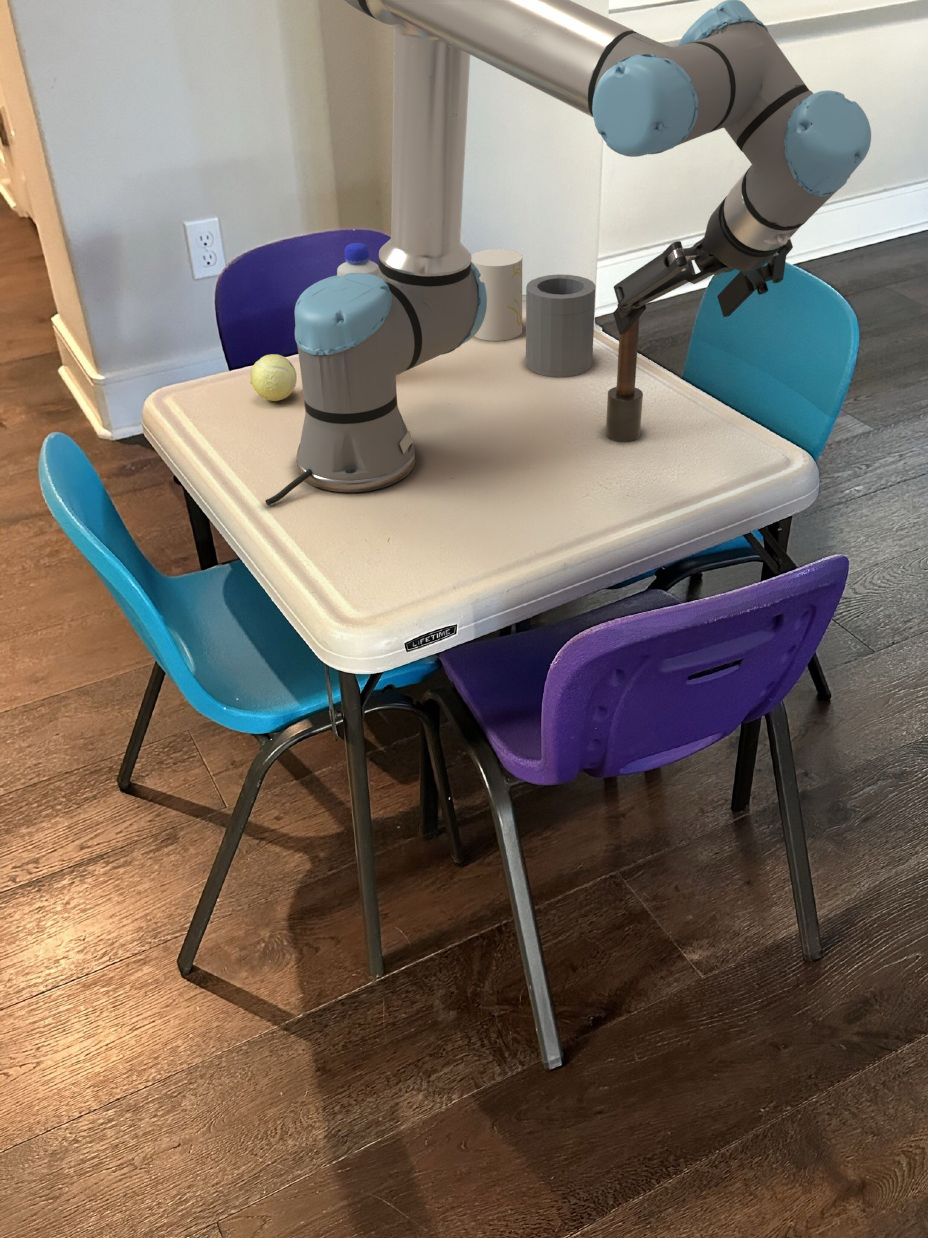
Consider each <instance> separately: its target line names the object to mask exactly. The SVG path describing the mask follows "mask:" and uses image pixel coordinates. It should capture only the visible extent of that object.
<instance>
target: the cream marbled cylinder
mask: <svg viewBox="0 0 928 1238" xmlns="http://www.w3.org/2000/svg"><path fill="white" fill-rule="evenodd" d="M471 257H472V260H471V262H472V263H473V264H474V265H475V266H476V267H477V269H478V270H479V272H480V274H481V276H480V277H479V279H480V281H481V282H484V284H485V288H486V294H487V308H486V314H485V318H484V321H483V323H482V325H481V327H480V329H479V330H478V332H477V333H476V334H475V335H474V336H473V337H475V338H477V339H478V340H479V339H480V340H483V341H488V342H489V341H490V342H503V341H509V340H513V339H516V338H518V337H520V336H521V335H522V333H523V255H522V253H520V252H519V251H515V250H512V249H506V248H489V249H483V250H480V251H476V252H474V253H473V254H471Z"/></svg>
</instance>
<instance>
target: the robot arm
mask: <svg viewBox="0 0 928 1238" xmlns="http://www.w3.org/2000/svg"><path fill="white" fill-rule="evenodd" d="M344 2H346V4H348V5H350V6H351V7H353V8H354V9H356V10H357V11H360V12H361V13H363V14H365V15H367V16H368V17H370V18H373V19H375V20H377V21H378V22H380V23H382V24H385V25H388V26H392V28H393V62H392V63H393V66H392V67H393V68H392V69H393V70H392V71H393V72H392V74H393V75H392V87H393V88H392V141H391V142H392V143H391V145H392V147H391V148H392V149H391V152H392V153H391V160H392V161H391V215H390V216H391V217H390V218H391V220H390V221H391V224H390V225H391V226H390V227H391V228H390V229H391V230H390V239H388V241H387V242H385V243H384V244H383V245H382V246H381V247H380V249H379V250H378V266H379V276H376V275H372V274H367V273H348V274H345V275H344V276H338V275H337V274H336V275H331V276H329V277H327V278H324V279H321V280H318V281H317V282H315V283H312V285H310V286H309V287H307V288H306V289H305V290H304V291H302V293H301V294H300V295H299V296H298V298H297V300H296V302H295V306H294V322H295V323H294V324H295V327H294V340H295V343H296V346H297V353H298V360H299V361H298V362H299V368H300V377H301V386H302V395H303V402H304V411H305V413H304V420H303V424H302V430H301V435H300V442H299V444H298V448H297V451H296V465H297V472H298V474H299V476H297V477H296V478H294V480H292V481H290V482H289V483H288V484H287V485H286V486H285V487H283V488H282V489H281V490H280V491H278V493H276V494H275V495H273V496H271V497H269V498H267V499H265V504H266V505H267V506H270V505H273V504H275V503H278V502H279V501H280V500H281V499H283V498H284V497H285V496H287V495H288V494H290V492H292V490H294V489H295V488H297V487H298V486H300V484H302V483H303V482H304V481H305V482H306V483H308V484H309V485H311V486H313V487H316V488H318V489H322V490H326V491H330V492H336V493H337V492H338V493H362V492H370V491H374V490H375V491H376V490H379V489H383V488H386V487H389V486H391V485H394V484H396V483H398V482H400V481H401V480H403V479H404V478H406V477H407V476H408V475H409V474H410V473H411V472H412V471H413V469H414V468H415V465H416V455H415V454H416V451H415V450H416V449H415V445H414V439H413V436H412V433H411V431H410V430H408V428H407V425H406V423H405V421H404V418H403V415H402V414H401V411H400V408H399V405H398V392H397V376H399V375H401V374H402V373H404V372H407V371H409V370H411V369H413V368H415V367H417V366H420V365H422V364H425V363H427V362H428V361H430V360H433V359H435V358H437V357H440V356H442V355H443V356H444V355H446V354H450V353H453V352H455V350H457V349H458V348H460V347H461V346H462V345H463V344H465V343H467V342H469V341H470V340H471V339H473V338H474V337H475V336H474V335H475V334H476V333H477V332H478V330H479V329H480V327H481V325H482V323H483V321H484V318H485V314H486V308H487V294H486V288H485V284H484V282H481V281H480V279H479V277H480V276H481V274H480V272H479V270H478V269H477V267H476V266H475V265H474V264H473V263H472V262H471V260H472V257H471V255H472V254H471V252H470V250H469V249H468V248H467V247H466V246H465V245H464V244H463V243H462V241H461V239H462V237H461V236H462V218H463V217H462V215H463V200H464V182H465V181H464V180H465V161H466V145H467V144H466V143H467V124H468V123H467V122H468V106H469V105H468V104H469V89H470V87H469V86H470V67H471V56H472V57H474V58H476V59H477V60H480V61H482V62H484V63H485V64H488V65H490V66H492V67H494V68H496V69H497V70H500V71H501V72H503V73H505V74H507V75H509V76H511V77H513V78H515V79H517V80H519V81H521V82H523V83H525V84H527V85H529V86H531V87H533V88H535V89H536V90H539V91H540V92H542V93H544V94H546V95H547V96H550V97H551V98H554V99H555V100H558V101H559V102H562V103H564V104H566V105H568V106H569V107H572V108H573V109H575V110H578V111H579V112H582V113H583V114H585V115H587V116H589V117H591V118H592V119H593V122H594V127H595V129H596V130H597V133H598V135H600V136H601V138H602V139H603V141H604V142H605V143H606V146H607V147H608V148H609V149H611V150H612V151H614V152H615V153H617V154H619V155H622V156H624V157H630V158H632V157H633V158H634V157H635V158H636V157H643V156H646V155H658V154H662V153H664V152H666V151H669V150H672V149H674V148H675V147H677V146H680V145H682V144H685V143H687V142H690V141H692V140H695V139H697V138H700V137H702V136H704V135H707V134H710V133H714V132H716V131H718V130H721V129H724V130H725V131H726V133H727V135H729V137H730V138H731V140H732V141H733V142H734V144H735V146H736V147H738V149H739V151H741V152H742V153H743V154H744V156H745V157H746V158H747V160H748V161H749V162H750V164H751V165H749V167H748V169H747V170H746V171H745V172H744V174H742V176H741V177H740V178H739V179H738V181H736V183H735V184H734V185H733V186H732V188H731V189H730V190H729V192H728V194H727V195H726V196H725V197H724V199H722V201H720V203H719V204H718V206H717V207H716V208H715V210H714V211H713V212H712V213H711V215H710V217H709V219H708V222H707V224H706V228H705V233H704V235H703V237H702V238H700V240H698V241H697V242H695V243H694V244H693V245H692V246H690V247H683V244H682V241H680V240H679V241H678V240H676V241H674V242H671V244H670V245H668V246H667V247H666V249H664V250H663V252H662V253H660V254H658V255H657V256H656V257H654V258H653V259H651V260H650V261H649V262H647V263H646V264H644V265H642V266H641V267H639V268H638V269H637V270H635V271H633V272H632V273H631V274H629V275H628V276H626V277H625V278H623V279H622V280H620V281H619V282H618V283H616V284H615V285H614V286H613V290H614V294H615V297H616V300H617V304H616V305H617V308H616V309H615V310H614V311H613V312H612V314H613V317H614V320H615V321H614V322H615V324H616V327H617V331H618V334H620V335H621V334H626V332H627V331H628V330H629V329H630V328H631V326H632V325H633V324H634V323H635V322H636V320H637V319H638V318H639V317H641V315H642V314H643V313H644V312H645V311H646V310H647V304H649V303H651V302H653V301H655V300H657V299H659V298H660V297H662V296H665V295H666V294H669V293H671V292H672V291H673V292H674V291H675V290H676V289H678V288H680V287H683V286H685V285H686V284H688V283H690V284H692V285H696V284H698V283H700V282H702V281H704V280H706V279H708V278H710V277H712V276H719V275H721V274H723V273H730V272H732V271H739V272H738V273H737V275H735V276H734V278H732V280H730V281H729V283H728V284H727V285H726V286H725V287H724V288H723V289H722V290H721V291H720V292H719V293H718V294H717V296H716V298H717V300H718V304H719V307H720V311H721V313H722V317H723V318H727V317H730V316H731V315H732V314H733V313H734V312H735V311H736V310H737V309H738V308H739V307H740V306H741V305H742V304H743V303H744V302H745V301H746V300H747V299H748V298H749V297H750V296H752V294H754V292H755V291H756V293H757V295H758V296H759V295H760V296H761V295H764V294H766V293H768V292H769V287H768V285H767V282H772V284H779V283H781V282H782V281H783V280H784V275H785V269H786V260H787V256H788V254H789V253H790V252H791V251H792V250H793V248H794V245H793V242H792V239H791V238H792V237H793V236H794V235H795V233H796V232H797V231H798V230H799V229H800V228H802V226H804V224H806V223H807V222H808V220H810V218H811V217H813V216H814V214H815V213H817V211H819V210H820V209H821V207H823V206H824V205H825V203H827V201H829V200H830V199H831V197H833V196H834V195H835V194H837V192H838V191H839V190H840V189H842V188H843V187H844V186H845V185H846V184H847V182H848V180H849V179H850V177H851V175H852V174H853V173H854V172H855V171H856V169H858V167H859V166H860V165H861V164H862V163H863V161H864V160H865V159H866V157H867V155H868V153H869V151H870V149H871V148H870V147H871V143H872V128H871V125H870V121H869V118H868V116H867V114H866V113H865V111H864V109H863V108H862V107H861V105H860V104H859V103H857V101H854V100H850V99H848V98H847V97H846V96H845V94H844V93H842V92H839V91H837V90H820V91H817V92H815V93H814V92H813V91H812V90H810V89H809V87H808V86H807V85H806V83H805V82H804V80H803V79H802V77H801V76H800V75H799V73H798V72H797V70H796V69H795V67H794V66H793V65H792V63H791V62H790V61H789V59H788V57H787V56H786V55H785V53H784V52H783V51H782V49H781V48H780V46H779V45H778V43H777V42H776V41H775V39H774V38H773V36H772V35H771V34H770V32H769V30H768V27H767V26H766V25H765V24H764V23H763V21H761V20H760V19H758V18H757V16H756V15H755V14H754V13H753V12H752V10H751V9H750V8H749V7H748V6H747V5H746V4H745V2H744V1H742V0H724V1H722V2H720V3H719V4H717V5H716V6H715V7H714V8H709V9H708V10H707V11H706V12H704V13H703V14H702V15H701V16H700V17H698V19H696V20H695V21H694V22H693V23H692V25H690V27H689V28H688V29H687V30H686V32H685V33H684V34H683V35H682V37H681V38H680V40H679V41H678V44H677V45H676V46H669V45H666V44H664V43H662V42H659V41H657V40H654V39H653V38H650V37H648V36H646V35H644V34H641V33H639V32H637V31H635V30H634V29H632V28H630V27H627V26H625V25H623V24H621V23H619V22H617V21H615V20H613V19H611V18H609V17H606V16H604V15H602V14H600V13H598V12H596V11H594V10H591V9H590V8H587V7H585V6H583V5H580V3H579V4H578V3H576V2H574V1H572V0H344ZM693 261H694V263H695V265H696V267H697V269H698V270H699V271H698V272H696V270H695V267H694V264H693Z"/></svg>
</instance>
